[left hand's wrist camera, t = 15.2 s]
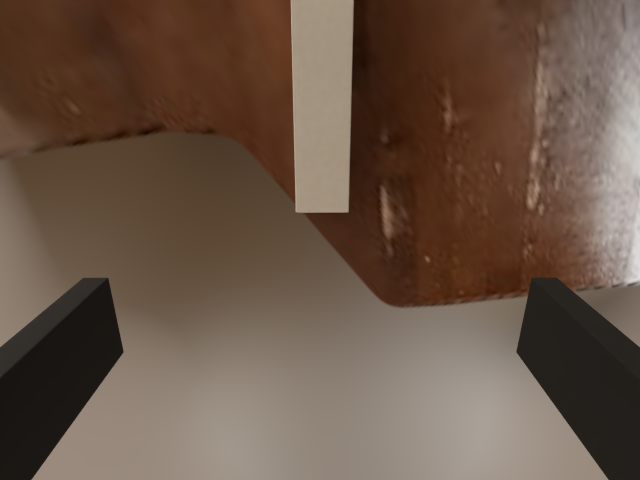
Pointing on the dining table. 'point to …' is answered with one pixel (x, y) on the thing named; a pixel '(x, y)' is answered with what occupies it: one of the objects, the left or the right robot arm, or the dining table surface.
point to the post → (322, 103)
